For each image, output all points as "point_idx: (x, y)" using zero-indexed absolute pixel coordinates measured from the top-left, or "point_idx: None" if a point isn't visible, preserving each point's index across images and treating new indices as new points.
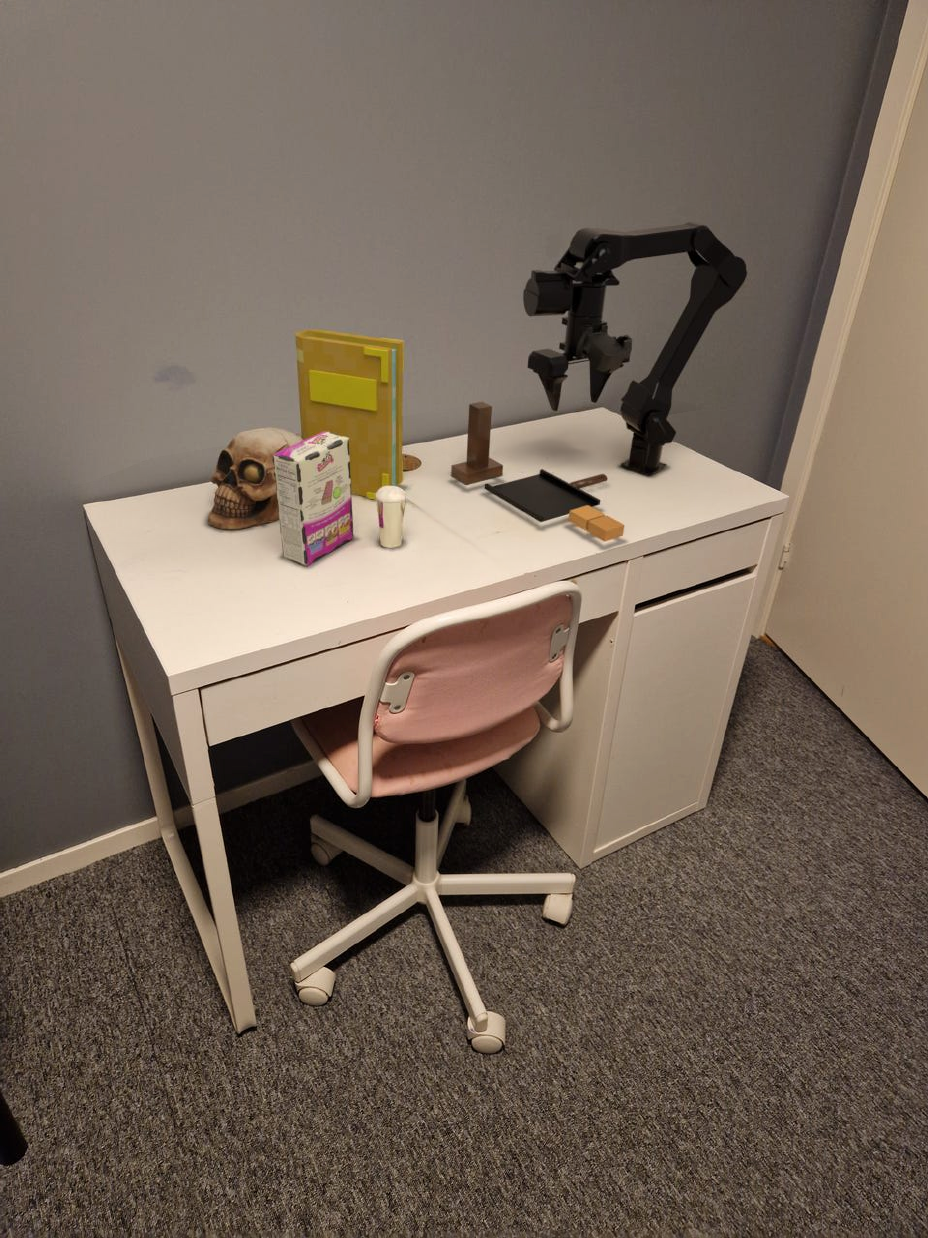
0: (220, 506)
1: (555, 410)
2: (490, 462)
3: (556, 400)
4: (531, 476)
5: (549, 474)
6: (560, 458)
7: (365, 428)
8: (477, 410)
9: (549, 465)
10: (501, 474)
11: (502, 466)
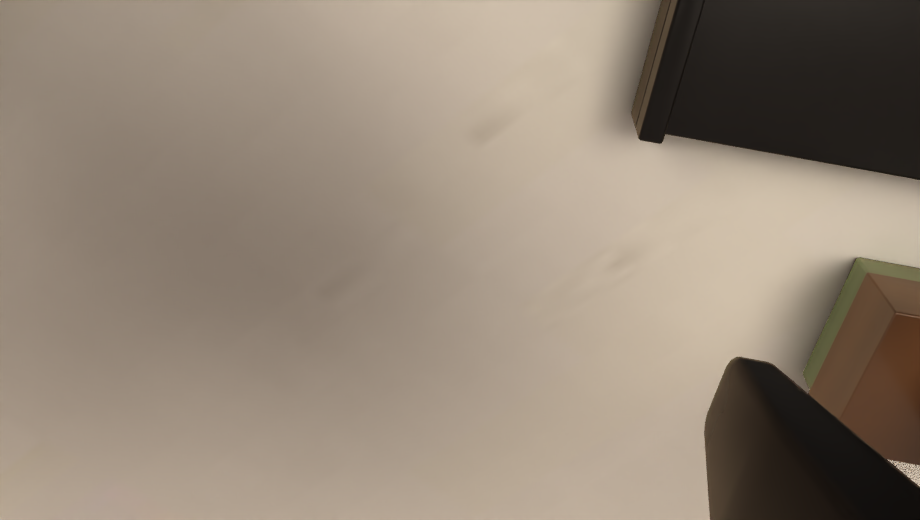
0: None
1: (777, 369)
2: (911, 385)
3: (901, 482)
4: (741, 140)
5: (690, 39)
6: (265, 236)
7: None
8: None
9: (405, 215)
10: (876, 277)
11: (896, 307)
